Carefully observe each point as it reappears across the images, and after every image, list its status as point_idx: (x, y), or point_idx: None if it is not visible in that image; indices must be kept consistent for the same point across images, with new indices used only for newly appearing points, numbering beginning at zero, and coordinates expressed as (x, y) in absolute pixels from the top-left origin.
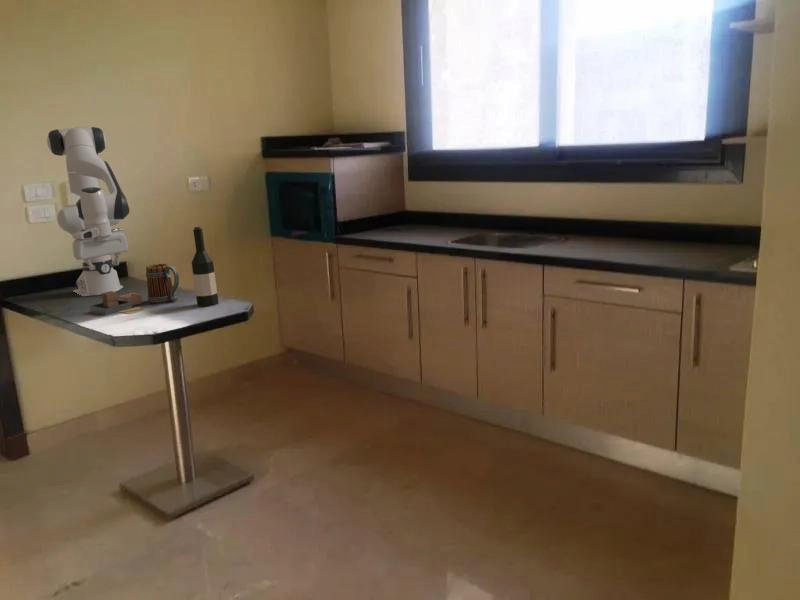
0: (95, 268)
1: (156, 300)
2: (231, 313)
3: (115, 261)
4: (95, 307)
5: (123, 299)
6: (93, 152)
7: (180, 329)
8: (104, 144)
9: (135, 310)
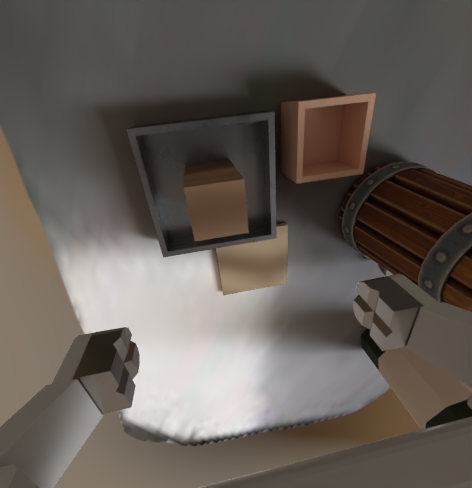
0: (137, 366)
1: (350, 244)
2: (336, 411)
3: (383, 347)
4: (143, 186)
5: (292, 144)
6: None
7: (229, 439)
8: None
9: (256, 268)
